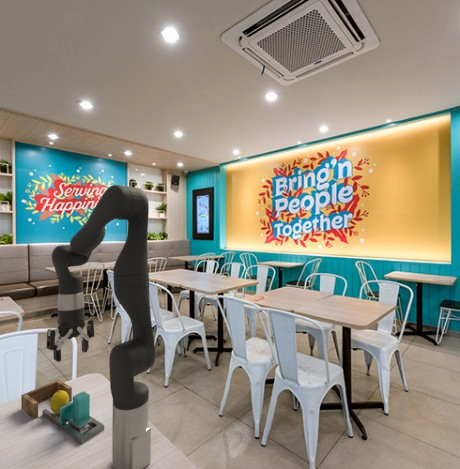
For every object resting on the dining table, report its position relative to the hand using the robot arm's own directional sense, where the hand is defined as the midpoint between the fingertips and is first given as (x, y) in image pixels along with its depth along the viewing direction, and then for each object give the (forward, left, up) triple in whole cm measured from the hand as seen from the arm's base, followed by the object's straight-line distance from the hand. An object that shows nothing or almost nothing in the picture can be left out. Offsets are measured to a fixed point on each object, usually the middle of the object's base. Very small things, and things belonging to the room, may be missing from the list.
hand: (71, 356), depth 94 cm
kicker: (-5, 0, -22) cm, 22 cm away
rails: (+1, 0, -22) cm, 22 cm away
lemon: (+8, 0, -22) cm, 23 cm away
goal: (+16, 0, -22) cm, 27 cm away
